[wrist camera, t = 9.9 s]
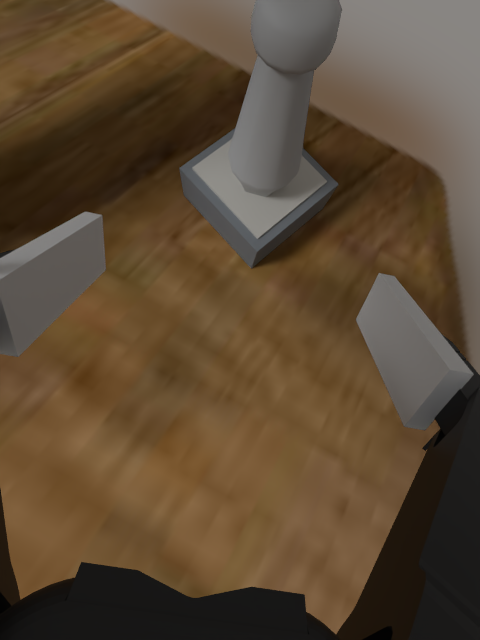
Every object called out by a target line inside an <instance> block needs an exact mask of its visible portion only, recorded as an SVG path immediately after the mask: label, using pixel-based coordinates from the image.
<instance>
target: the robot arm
mask: <svg viewBox="0 0 480 640" xmlns="http://www.w3.org/2000/svg"><path fill="white" fill-rule="evenodd" d="M105 270H106V266H105V250H104V235H103V219H102V215H99V214H94V213H90V212H83V213H82V214H80V215H78V216H76V217H74V218H73V219H71V220H69V221H67V222H65V223H63V224H62V225H60V226H58V227H56V228H54V229H53V230H51V231H49V232H47V233H45V234H43V235H42V236H40V237H38V238H36V239H34V240H32V241H31V242H29V243H27V244H25V245H23V246H22V247H20V248H18V249H16V250H11V251H7V252H3V253H0V354H5V355H11V356H16V357H18V356H19V355H21V354H22V353H23V352H24V351H25V350H26V349H27V348H28V347H29V346H30V345H31V344H32V343H33V342H34V341H35V340H36V339H37V338H38V337H39V336H40V335H41V334H42V333H43V332H44V331H45V330H46V329H47V328H48V327H49V326H50V325H51V324H52V323H53V322H54V321H55V320H56V319H57V318H58V317H59V316H60V315H61V314H62V313H63V312H64V311H65V310H66V309H67V308H68V307H69V306H70V305H71V304H72V303H73V302H74V301H75V300H76V299H77V298H78V297H79V296H80V295H81V294H82V293H83V292H84V291H85V290H86V289H87V288H88V287H89V286H90V285H91V284H92V283H93V282H94V281H95V280H96V279H97V278H98V277H99V276H100V275H101V274H102V273H103V272H104V271H105ZM356 321H357V324H358V326H359V328H360V330H361V332H362V335H363V337H364V339H365V341H366V343H367V346H368V348H369V350H370V352H371V354H372V357H373V359H374V361H375V363H376V366H377V368H378V370H379V372H380V374H381V377H382V379H383V381H384V383H385V385H386V388H387V390H388V392H389V394H390V396H391V399H392V401H393V403H394V405H395V408H396V410H397V412H398V414H399V416H400V419H401V421H402V423H403V425H404V427H409V428H415V429H420V430H426V429H427V427H428V426H429V425H430V424H431V423H432V422H433V421H434V419H435V420H436V421H437V423H438V425H439V427H440V430H439V431H438V432H437V433H436V434H435V435H434V436H433V437H432V438H431V439H430V440H429V442H428V443H427V444H426V445H425V446H424V447H423V448H422V449H424V450H425V451H426V450H427V449H428V450H427V452H426V454H425V456H424V459H423V461H422V463H421V465H420V467H419V469H418V472H417V474H416V476H415V478H414V480H413V482H412V485H411V487H410V489H409V491H408V493H407V496H406V498H405V500H404V502H403V504H402V506H401V509H400V511H399V513H398V515H397V517H396V519H395V522H394V524H393V526H392V528H391V530H390V533H389V535H388V537H387V539H386V541H385V543H384V546H383V548H382V550H381V552H380V554H379V556H378V559H377V561H376V563H375V565H374V567H373V570H372V572H371V574H370V576H369V578H368V580H367V583H366V585H365V587H364V589H363V591H362V594H361V596H360V598H359V600H358V602H357V604H356V606H355V608H354V610H353V611H352V613H351V614H350V616H349V617H348V618H347V620H346V621H345V622H344V624H343V625H342V626H341V628H340V629H339V631H338V633H337V634H335V633H334V632H332V631H331V630H330V629H329V628H328V627H327V626H326V625H325V624H323V623H322V622H321V621H319V620H318V619H316V618H315V617H314V616H312V615H311V614H309V613H307V612H306V606H305V595H304V594H297V593H290V592H283V591H277V590H270V589H263V588H256V587H248V588H244V589H239V590H234V591H229V592H224V593H219V594H214V595H209V596H204V597H200V598H191V597H188V596H186V595H184V594H182V593H180V592H178V591H176V590H174V589H172V588H170V587H169V586H167V585H165V584H163V583H161V582H159V581H157V580H155V579H153V578H151V577H150V576H148V575H146V574H144V573H142V572H140V571H138V570H132V569H125V568H118V567H111V566H105V565H98V564H91V563H84V562H81V565H80V567H79V570H78V572H77V574H76V577H75V578H72V579H66V580H63V581H60V582H57V583H54V584H51V585H49V586H46V587H44V588H42V589H40V590H38V591H35V592H33V593H32V594H30V595H28V596H27V597H25V598H23V599H21V600H20V596H19V590H18V586H17V582H16V578H15V575H14V572H13V568H12V565H11V561H10V556H9V549H8V542H7V534H6V527H5V519H4V512H3V504H2V497H1V490H0V640H480V375H479V374H478V373H477V372H476V370H475V369H474V368H473V367H472V365H471V364H470V363H469V362H468V361H466V358H465V357H464V356H463V355H462V353H460V351H459V350H458V349H457V347H456V346H455V345H454V344H453V343H452V342H451V341H450V340H449V339H447V338H446V337H445V336H443V335H442V334H441V333H440V332H439V331H438V329H437V328H436V327H435V326H434V325H433V323H432V322H431V321H430V320H429V318H428V317H427V316H426V315H425V313H424V312H423V311H422V310H421V308H420V307H419V306H418V305H417V304H416V302H415V301H414V300H413V299H412V297H411V296H410V295H409V294H408V292H407V291H406V290H405V289H404V288H403V286H402V285H401V284H400V283H399V281H398V280H397V279H396V278H395V276H391V275H386V274H381V273H379V274H378V276H377V278H376V280H375V282H374V284H373V286H372V288H371V290H370V292H369V294H368V296H367V298H366V300H365V302H364V304H363V306H362V308H361V310H360V312H359V314H358V316H357V318H356Z"/></svg>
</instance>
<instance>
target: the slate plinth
mask: <svg viewBox="0 0 480 640" xmlns="http://www.w3.org/2000/svg"><path fill="white" fill-rule="evenodd" d="M234 132H235V129H233V130H232V131H230V132H229V133H228V134H226V135H225V136H223V137H222V138H221V139H219V140H218V141H216V142H215V143H214V144H212V145H211V146H209V147H208V148H207V149H205V150H204V151H203V152H201V153H200V154H198V155H197V156H196V157H194V158H193V159H191V160H190V161H189V162H187V163H186V164H184V165H183V166H182V167H180V168H179V169H180V175H181V181H182V187H183V193H184V196H185V197H186V198H187V199H188V200H189V201H190V202H191V203H192V205H193V206H194V207H195V208H196V209H197V210H198V211H199V212H200V213H201V214H202V215H203V217H204V218H205V219H206V220H207V221H208V222H209V223H210V224H211V225H212V226H213V227H214V228H215V230H216V231H217V232H218V233H219V234H220V235H221V236H222V237H223V238H224V239H225V240H226V241H227V243H228V244H229V245H230V246H231V247H232V248H233V249H234V250H235V251H236V252H237V253H238V255H239V256H240V257H241V258H242V259H243V260H244V261H245V262H246V263H247V264H248V265H249V266H250V268H253V267H254V266H255V265H256V264H257V263H259V262H260V261H261V260H262V259H263V258H264V257H266V256H267V255H268V254H269V253H270V252H272V251H273V250H274V249H275V248H276V247H278V246H279V245H280V244H281V243H282V242H284V241H285V240H286V239H287V238H288V237H290V236H291V235H292V234H293V233H294V232H295V231H297V230H298V229H299V228H300V227H301V226H303V225H304V224H305V223H306V222H307V221H309V220H310V219H311V218H312V217H313V216H315V215H316V214H317V213H318V212H319V211H320V210H322V209H323V208H324V206H325V205H326V203H327V201H328V200H329V198H330V197H331V195H332V194H333V192H334V191H335V189H336V188H337V186H338V183H337V182H336V181H335V180H334V179H333V178H332V177H331V176H330V175H329V174H328V173H327V172H326V171H325V170H324V169H323V168H322V167H321V166H320V165H319V164H318V163H317V162H316V161H315V160H314V159H313V158H312V157H311V156H310V155H309V154H308V153H307V152H306V151H305V150H304V149H303V148H302V156H301V162H300V167H299V172H298V173H297V174H296V176H295V177H294V178H293V179H292V180H291V181H290V182H289V183H288V185H287V186H285V187H283V188H281V189H278V190H276V191H274V192H272V193H271V194H270V195H268V196H267V197H264V196H260V195H256V194H252V193H248V192H245V190H244V188H243V186H242V184H241V182H240V181H239V180H238V179H237V177H236V176H235V175H234V173H233V172H232V169H231V165H230V161H229V156H228V151H229V148H230V144H231V141H232V138H233V135H234Z"/></svg>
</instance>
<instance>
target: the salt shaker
mask: <svg viewBox="0 0 480 640" xmlns="http://www.w3.org/2000/svg"><path fill="white" fill-rule="evenodd" d="M341 11H342V8H341V5H340V2H339V0H256V2H255V5H254V9H253V13H252V21H251V35H252V40H253V43H254V47H255V50H256V53H257V54H258V56H257V59H256V62H255V66H254V69H253V72H252V75H251V79H250V82H249V85H248V89H247V92H246V95H245V99H244V102H243V105H242V108H241V112H240V115H239V118H238V122H237V125H236V128H235V132H234V135H233V138H232V141H231V144H230V148H229V151H228V156H229V161H230V165H231V169H232V172H233V173H234V175H235V176H236V177H237V179H238V180H239V181H240V182H241V184H242V186H243V188H244V190H245V192H248V193H252V194H256V195H260V196H264V197H267V196H268V195H270V194H271V193H272V192H274V191H276V190H278V189H281V188H283V187H285V186H287V185H288V183H289V182H290V181H291V180H292V179H293V178H294V177H295V176H296V174H297V173H298V172H299V167H300V162H301V156H302V148H303V141H304V133H305V126H306V120H307V113H308V107H309V100H310V93H311V87H312V80H313V74H314V70H316V69H317V67H319V66H320V65H321V64H322V63H323V62H324V61H325V59H326V58H327V57H328V55H329V54H330V53H331V50H332V48H333V45H334V43H335V40H336V36H337V31H338V26H339V21H340V16H341Z"/></svg>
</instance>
